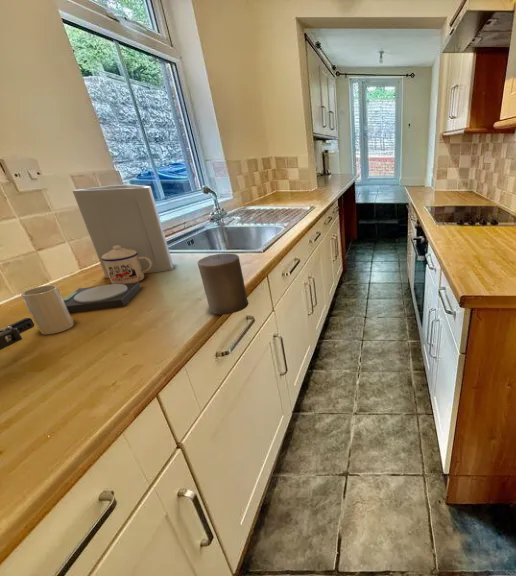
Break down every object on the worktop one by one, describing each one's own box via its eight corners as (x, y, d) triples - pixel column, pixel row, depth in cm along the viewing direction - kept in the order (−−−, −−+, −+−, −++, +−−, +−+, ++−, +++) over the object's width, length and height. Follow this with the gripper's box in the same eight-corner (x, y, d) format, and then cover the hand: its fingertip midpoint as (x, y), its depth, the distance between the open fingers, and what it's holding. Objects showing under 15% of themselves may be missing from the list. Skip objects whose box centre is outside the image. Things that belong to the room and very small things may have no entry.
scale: (55, 314, 82) (51, 306, 81) (81, 294, 94) (78, 286, 93) (123, 306, 87) (120, 298, 86) (140, 288, 98) (138, 280, 97)
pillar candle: (256, 302, 89) (246, 250, 83) (229, 318, 80) (216, 262, 74) (229, 296, 92) (218, 246, 86) (200, 311, 84) (186, 257, 78)
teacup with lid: (107, 288, 98) (93, 251, 93) (115, 278, 106) (102, 244, 101) (153, 281, 103) (142, 246, 98) (157, 272, 110) (147, 239, 105)
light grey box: (177, 257, 125) (156, 183, 114) (172, 269, 113) (148, 187, 101) (117, 264, 118) (88, 185, 106) (105, 278, 105) (71, 191, 94)
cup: (34, 336, 73) (14, 297, 69) (50, 324, 78) (31, 286, 74) (65, 332, 75) (47, 293, 71) (78, 320, 80) (62, 283, 76)
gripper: (-70, 352, 51) (36, 305, 65) (-154, 350, 51) (-30, 304, 66) (-44, 389, 54) (52, 336, 68) (-123, 387, 54) (-12, 335, 69)
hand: (12, 321), depth 67 cm, fingers open, 8 cm apart
